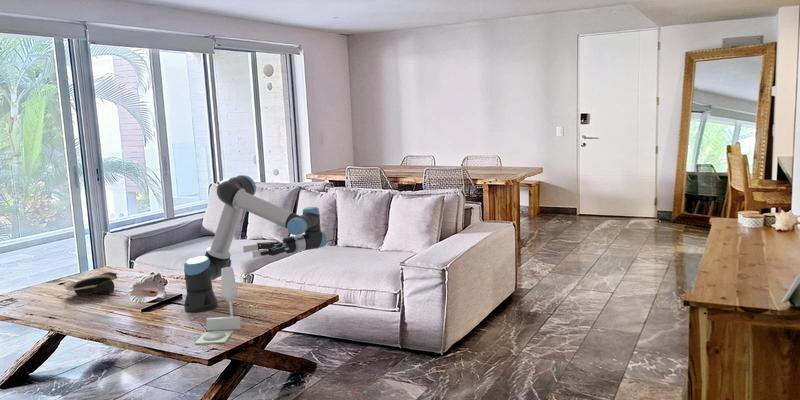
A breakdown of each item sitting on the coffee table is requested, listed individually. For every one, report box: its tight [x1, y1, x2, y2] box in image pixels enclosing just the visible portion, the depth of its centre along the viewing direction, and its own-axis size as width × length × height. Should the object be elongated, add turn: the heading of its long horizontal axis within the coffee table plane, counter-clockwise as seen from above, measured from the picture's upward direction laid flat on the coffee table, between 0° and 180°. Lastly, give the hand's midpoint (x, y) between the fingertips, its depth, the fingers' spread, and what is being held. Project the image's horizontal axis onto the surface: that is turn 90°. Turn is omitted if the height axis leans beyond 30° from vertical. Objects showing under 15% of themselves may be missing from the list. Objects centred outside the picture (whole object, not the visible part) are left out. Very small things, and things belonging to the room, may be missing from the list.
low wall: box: [205, 316, 242, 332], centre depth 256 cm, size 14×2×5 cm, turn 90°
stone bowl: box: [65, 271, 118, 297], centre depth 321 cm, size 25×25×9 cm
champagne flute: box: [220, 266, 238, 317], centre depth 264 cm, size 7×7×24 cm
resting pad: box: [194, 330, 234, 346], centre depth 247 cm, size 12×12×1 cm
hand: (247, 252), depth 266 cm, fingers open, 13 cm apart
